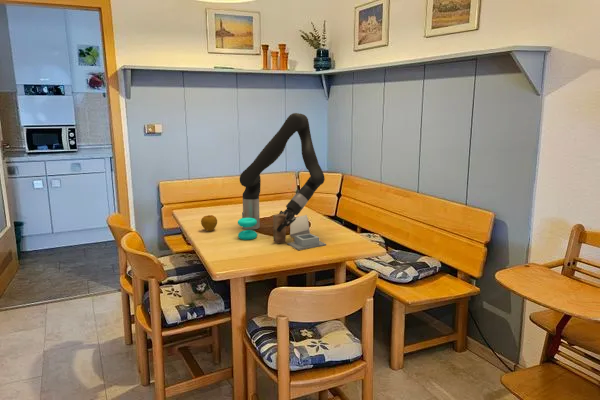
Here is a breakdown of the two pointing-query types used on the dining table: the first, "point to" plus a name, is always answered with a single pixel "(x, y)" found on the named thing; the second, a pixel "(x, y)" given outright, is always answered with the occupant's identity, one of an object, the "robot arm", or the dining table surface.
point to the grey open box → (306, 242)
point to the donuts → (247, 233)
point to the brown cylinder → (277, 220)
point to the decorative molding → (299, 226)
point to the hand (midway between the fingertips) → (276, 229)
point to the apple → (209, 222)
